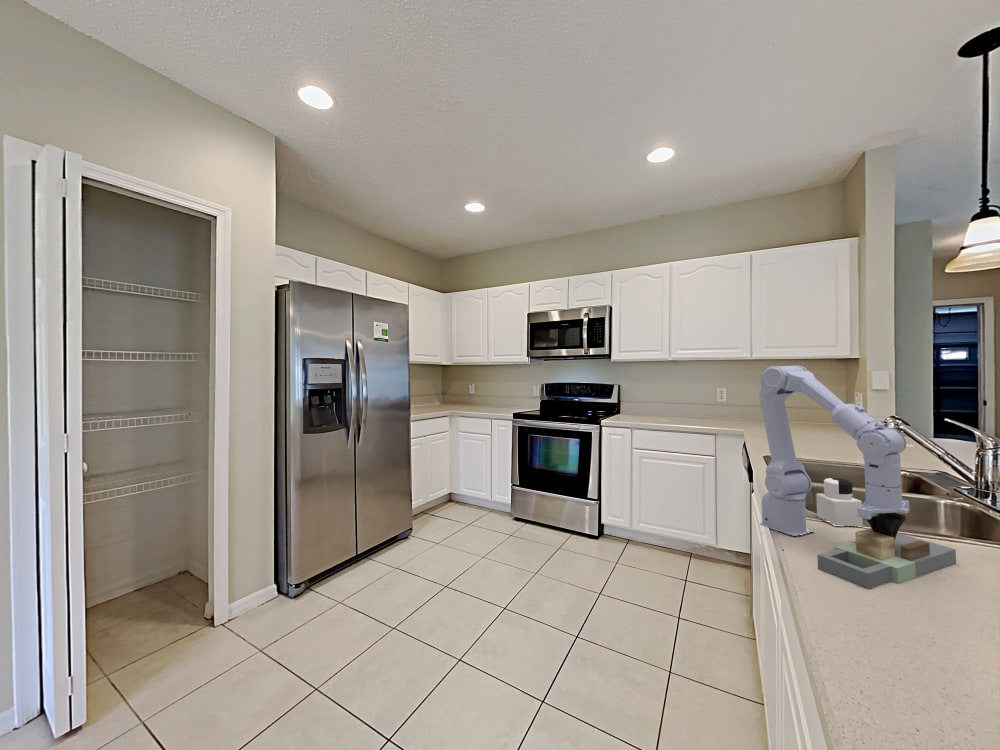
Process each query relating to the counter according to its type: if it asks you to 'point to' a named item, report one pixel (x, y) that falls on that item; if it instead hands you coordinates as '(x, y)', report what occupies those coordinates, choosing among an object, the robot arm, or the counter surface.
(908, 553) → the brown rectangular blocks
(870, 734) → the counter surface
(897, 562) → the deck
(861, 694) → the counter surface
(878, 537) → the maple block
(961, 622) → the counter surface
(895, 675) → the counter surface
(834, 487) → the white stepped box
